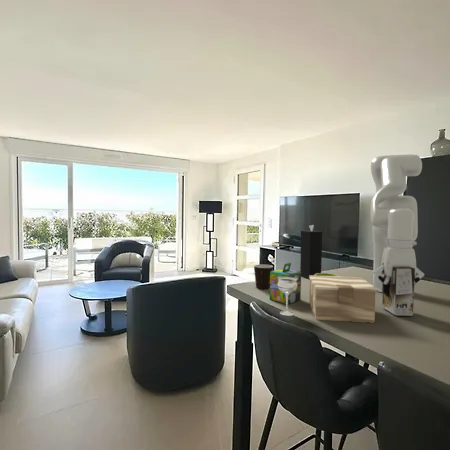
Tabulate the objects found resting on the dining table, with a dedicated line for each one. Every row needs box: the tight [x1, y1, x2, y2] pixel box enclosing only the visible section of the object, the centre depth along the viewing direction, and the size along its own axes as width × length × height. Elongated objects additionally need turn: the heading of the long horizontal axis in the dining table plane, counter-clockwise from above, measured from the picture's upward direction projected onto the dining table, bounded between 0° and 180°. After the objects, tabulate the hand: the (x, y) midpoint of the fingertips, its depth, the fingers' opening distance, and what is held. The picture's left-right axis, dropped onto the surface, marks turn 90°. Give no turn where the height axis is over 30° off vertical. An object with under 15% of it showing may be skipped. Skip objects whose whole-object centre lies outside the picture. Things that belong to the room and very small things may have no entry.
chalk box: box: [269, 262, 302, 305], centre depth 120 cm, size 9×9×15 cm
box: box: [309, 279, 376, 324], centre depth 106 cm, size 17×18×10 cm
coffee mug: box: [253, 263, 274, 291], centre depth 138 cm, size 12×9×10 cm
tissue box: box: [299, 224, 323, 280], centre depth 161 cm, size 8×8×28 cm
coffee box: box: [381, 267, 416, 317], centre depth 106 cm, size 9×6×16 cm
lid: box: [309, 275, 378, 304], centre depth 105 cm, size 18×19×5 cm
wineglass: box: [277, 277, 297, 317], centre depth 104 cm, size 7×7×12 cm
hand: (397, 294), depth 106 cm, fingers closed on coffee box, 7 cm apart
